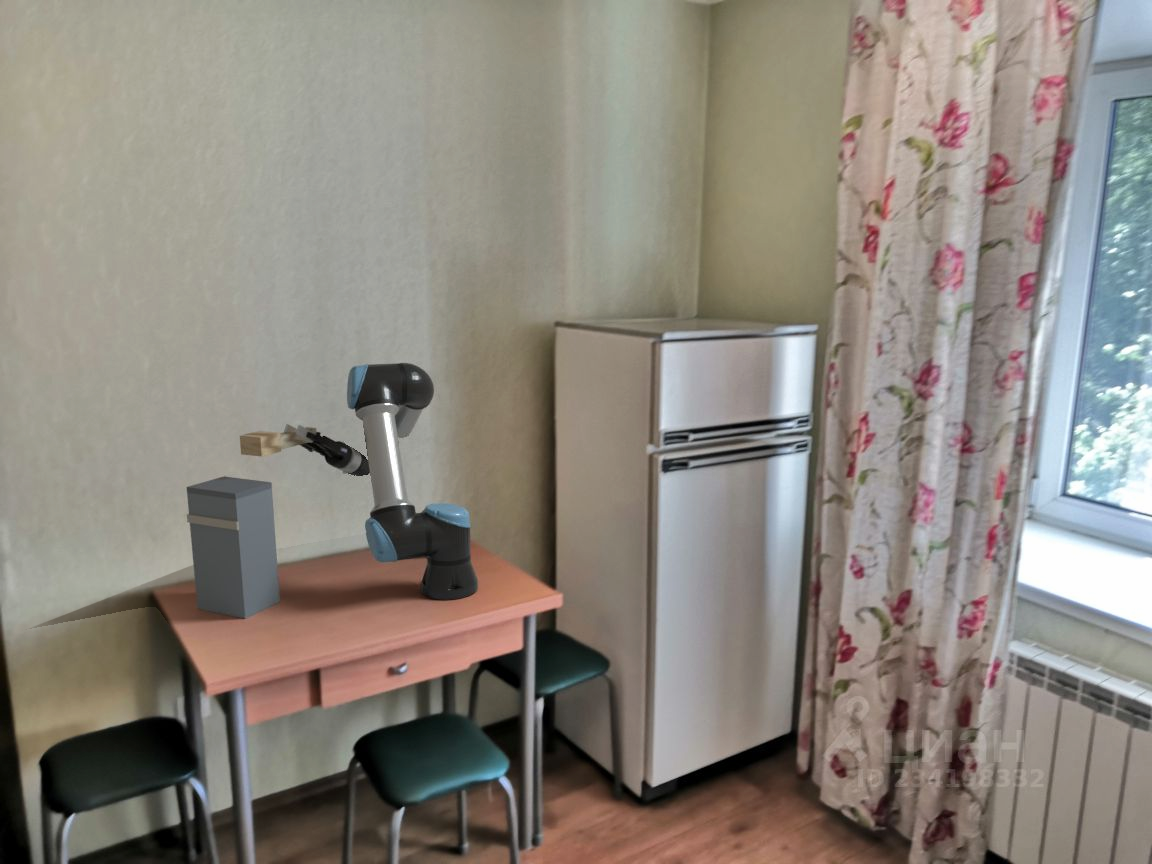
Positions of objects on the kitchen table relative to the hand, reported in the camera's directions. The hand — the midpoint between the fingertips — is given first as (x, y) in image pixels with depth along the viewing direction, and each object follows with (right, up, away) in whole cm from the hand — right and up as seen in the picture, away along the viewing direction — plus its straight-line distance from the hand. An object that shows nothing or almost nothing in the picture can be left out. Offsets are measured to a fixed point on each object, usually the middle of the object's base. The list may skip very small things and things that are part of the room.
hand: (292, 429), depth 233 cm
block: (-2, -5, -3) cm, 6 cm away
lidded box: (-9, -45, -13) cm, 48 cm away
